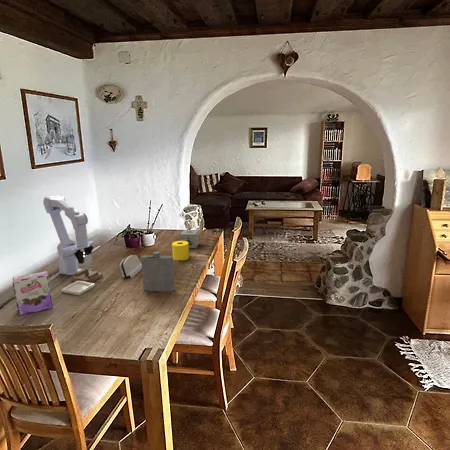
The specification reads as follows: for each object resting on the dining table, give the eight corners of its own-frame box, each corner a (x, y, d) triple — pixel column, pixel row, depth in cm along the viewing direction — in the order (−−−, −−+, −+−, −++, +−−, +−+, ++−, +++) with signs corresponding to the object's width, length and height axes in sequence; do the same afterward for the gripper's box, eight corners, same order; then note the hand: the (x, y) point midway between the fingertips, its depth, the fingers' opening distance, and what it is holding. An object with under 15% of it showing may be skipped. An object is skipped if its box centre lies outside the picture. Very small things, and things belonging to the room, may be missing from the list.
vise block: (70, 280, 189) (69, 270, 188) (83, 273, 198) (82, 264, 197) (89, 283, 184) (88, 274, 183) (102, 276, 193) (101, 267, 192)
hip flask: (175, 288, 178) (173, 251, 172) (173, 292, 174) (171, 253, 168) (144, 287, 179) (141, 250, 174) (142, 291, 175) (139, 253, 170)
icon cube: (184, 243, 246) (183, 229, 244) (198, 243, 245) (198, 230, 243) (181, 248, 237) (180, 234, 234) (195, 248, 236) (195, 234, 233)
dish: (61, 292, 175) (61, 289, 175) (78, 283, 185) (77, 280, 185) (79, 295, 172) (78, 292, 171) (94, 286, 182) (94, 283, 181)
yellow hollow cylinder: (187, 260, 215) (187, 245, 212) (171, 260, 215) (170, 245, 213) (189, 254, 225) (189, 240, 222) (174, 254, 225) (173, 240, 222)
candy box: (18, 316, 153) (11, 281, 149) (18, 310, 158) (12, 276, 154) (53, 308, 159) (47, 274, 155) (52, 303, 164) (47, 270, 160)
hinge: (131, 278, 191) (124, 261, 189) (124, 280, 192) (116, 263, 190) (144, 266, 206) (137, 251, 205) (137, 268, 208) (130, 253, 206)
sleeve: (78, 264, 186) (76, 255, 185) (84, 261, 191) (83, 252, 189) (85, 265, 184) (84, 256, 183) (92, 262, 189) (91, 253, 188)
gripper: (77, 241, 176) (80, 267, 179) (97, 233, 189) (100, 257, 192) (66, 240, 178) (70, 265, 182) (86, 232, 191) (89, 256, 195)
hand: (84, 261), depth 187 cm, fingers closed on sleeve, 5 cm apart
